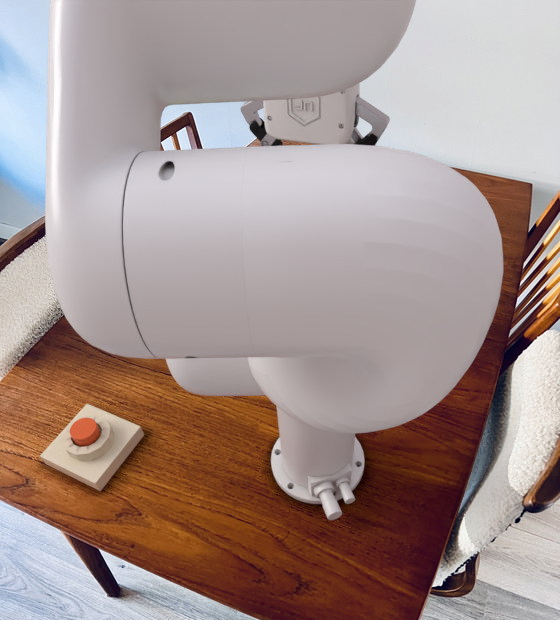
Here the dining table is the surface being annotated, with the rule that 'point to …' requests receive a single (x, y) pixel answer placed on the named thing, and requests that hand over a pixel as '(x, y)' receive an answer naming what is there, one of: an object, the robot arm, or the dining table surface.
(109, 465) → the beige square piece
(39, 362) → the dining table surface
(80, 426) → the red short cylinder
